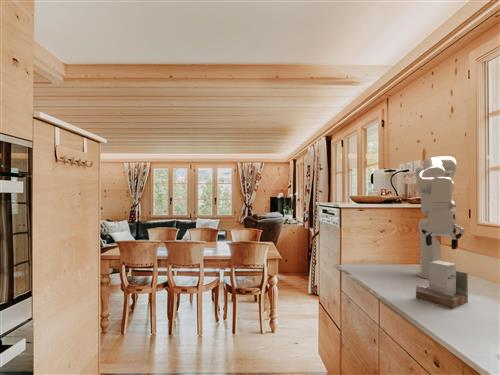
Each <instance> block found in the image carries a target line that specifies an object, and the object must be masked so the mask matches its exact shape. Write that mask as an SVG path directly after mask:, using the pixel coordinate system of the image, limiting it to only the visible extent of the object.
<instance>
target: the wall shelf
mask: <svg viewBox="0 0 500 375" xmlns="http://www.w3.org/2000/svg"><path fill="white" fill-rule="evenodd" d="M468 275H469V274H468V272H467V271H461V270H457V269H456V294H448V293H444V292H440V291H436V290H432V289H429V286H428V287H425V286H419V285H416V286H415V298H416V299H417V300H421V301H425V302H428V303H431V304H435V305H438V306H441V307H446V308H448V309H455V308H458V307H459V306H461V305H464V304H466V303H468V301H469V300H468V299H469V297H468V296H469V293H468V290H469V289H468V287H469V286H468V284H469V282H468V281H469V280H468V279H469V276H468Z"/></svg>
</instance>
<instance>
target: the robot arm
mask: <svg viewBox="0 0 500 375" xmlns="http://www.w3.org/2000/svg"><path fill="white" fill-rule="evenodd" d="M457 168H458V164H457V161H456V159H455V158H454V157H452V156H431V157H428V158H426V159H425V160H424V161H423V163H422V166H418V167H417V168H416V169H415V172H414V173H415V184H416V190H417V192H418V194H420V209H421V214H423V215H424V216H427V217H424V218H421V219H420V220H419V221H418V231H419V241H420V248H419V249H420V252H419V253H420V254H419V255H420V259H419V260H420V261H419V262H420V263H419V264H420V268H419V269H420V270H419V271H418V272H417V273H416V275H417V276H418V277H419V278H422V279H427V280H429V262H434V261H442V246H441V242H440V241H439V240H438V239H437V238H436V237H448V238H450V237H451V238H452V239H451V241H450V242H451V245H450V246H451V249H452V250H457V248H458V246H459V239H460V238H462V237H463V235H464V234H465V232H466V229H465V228H464V227H462V226H460V225H458V223H457V222H458V219H457V207H456V206H457V205H456V202H455V201H454V200H453V191H454V190H455V182H454V181H453V180H452V179H453V177H454V175H455V174H456V171H457ZM458 231H459V232H458Z"/></svg>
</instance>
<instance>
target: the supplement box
mask: <svg viewBox="0 0 500 375" xmlns="http://www.w3.org/2000/svg"><path fill="white" fill-rule="evenodd" d="M456 270H457V263H453V262H448V261H444V260H441V261H434V262H429V279H428V287H429V289H432V290H436V291H440V292H444V293H448V294H456Z"/></svg>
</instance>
